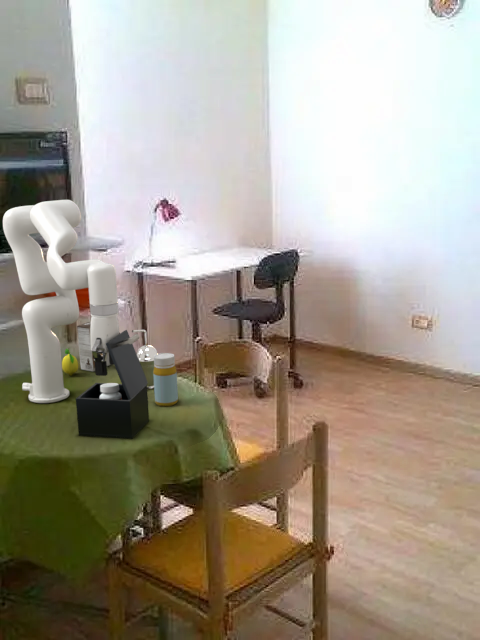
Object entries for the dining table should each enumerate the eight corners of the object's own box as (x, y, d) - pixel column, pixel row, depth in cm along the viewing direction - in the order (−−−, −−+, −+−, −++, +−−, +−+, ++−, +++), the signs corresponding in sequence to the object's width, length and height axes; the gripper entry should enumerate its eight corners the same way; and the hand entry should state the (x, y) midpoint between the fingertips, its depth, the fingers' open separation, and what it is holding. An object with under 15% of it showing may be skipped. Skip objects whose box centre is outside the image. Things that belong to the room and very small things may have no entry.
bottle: (174, 407, 233) (171, 359, 229) (152, 406, 234) (149, 358, 231) (180, 399, 240) (178, 352, 236) (159, 398, 241) (156, 352, 237)
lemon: (66, 372, 271) (64, 344, 269) (82, 372, 270) (80, 345, 268) (58, 378, 265) (56, 349, 262) (74, 378, 264) (72, 350, 261)
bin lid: (105, 343, 205) (123, 337, 203) (124, 330, 218) (141, 324, 216) (128, 400, 207) (146, 394, 206) (145, 384, 220) (163, 378, 219)
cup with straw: (164, 388, 250) (161, 328, 246) (137, 392, 247) (133, 331, 243) (158, 381, 258) (154, 322, 253) (131, 384, 255) (127, 325, 250)
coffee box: (97, 362, 281) (94, 319, 277) (111, 365, 278) (108, 321, 274) (80, 369, 274) (76, 325, 270) (93, 372, 270) (90, 327, 266)
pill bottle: (127, 423, 218) (125, 384, 216) (109, 428, 214) (106, 388, 212) (115, 420, 222) (112, 381, 221) (96, 424, 218) (94, 385, 217)
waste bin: (78, 435, 213) (75, 398, 211) (98, 418, 226) (95, 382, 224) (132, 439, 210) (129, 401, 207) (149, 420, 223) (147, 385, 220)
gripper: (103, 302, 219) (107, 360, 223) (77, 316, 203) (82, 379, 207) (128, 302, 217) (132, 361, 222) (104, 317, 201) (109, 380, 205)
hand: (108, 369), depth 214 cm, fingers open, 9 cm apart
